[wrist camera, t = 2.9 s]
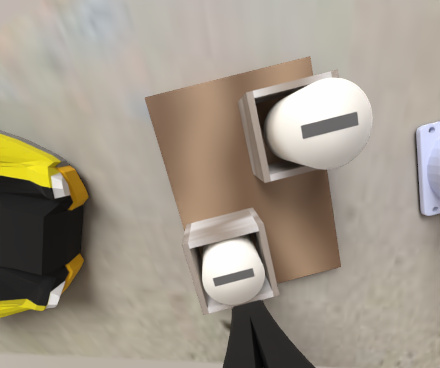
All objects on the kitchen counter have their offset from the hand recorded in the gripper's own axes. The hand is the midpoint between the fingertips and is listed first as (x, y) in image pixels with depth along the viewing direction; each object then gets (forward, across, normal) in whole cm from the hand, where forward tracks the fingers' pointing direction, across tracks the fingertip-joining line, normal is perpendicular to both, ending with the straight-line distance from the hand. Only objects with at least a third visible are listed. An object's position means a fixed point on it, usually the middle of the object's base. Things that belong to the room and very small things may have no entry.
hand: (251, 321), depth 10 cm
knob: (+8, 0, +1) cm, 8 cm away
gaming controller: (+10, +16, -6) cm, 20 cm away
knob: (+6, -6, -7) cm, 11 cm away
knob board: (+10, -3, -4) cm, 11 cm away
